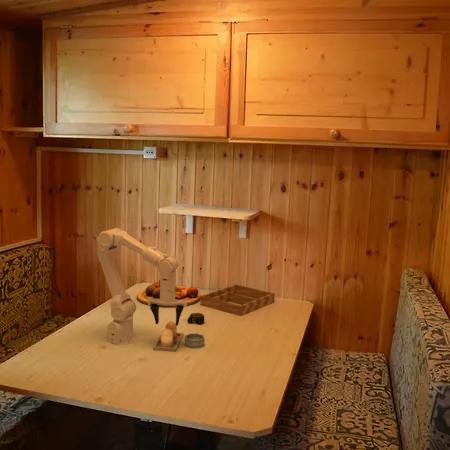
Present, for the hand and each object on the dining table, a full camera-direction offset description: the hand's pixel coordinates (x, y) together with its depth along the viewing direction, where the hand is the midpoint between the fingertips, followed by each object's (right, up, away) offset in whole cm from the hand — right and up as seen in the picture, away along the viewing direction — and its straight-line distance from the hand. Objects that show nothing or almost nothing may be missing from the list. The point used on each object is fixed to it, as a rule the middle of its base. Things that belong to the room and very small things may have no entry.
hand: (167, 324), depth 197 cm
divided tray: (0, -9, +5) cm, 10 cm away
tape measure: (+9, -6, +30) cm, 32 cm away
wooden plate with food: (-6, 0, +65) cm, 65 cm away
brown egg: (0, -8, +9) cm, 12 cm away
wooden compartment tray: (+28, -1, +60) cm, 66 cm away
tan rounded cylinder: (0, -9, +1) cm, 9 cm away
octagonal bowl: (+10, -9, +4) cm, 14 cm away
